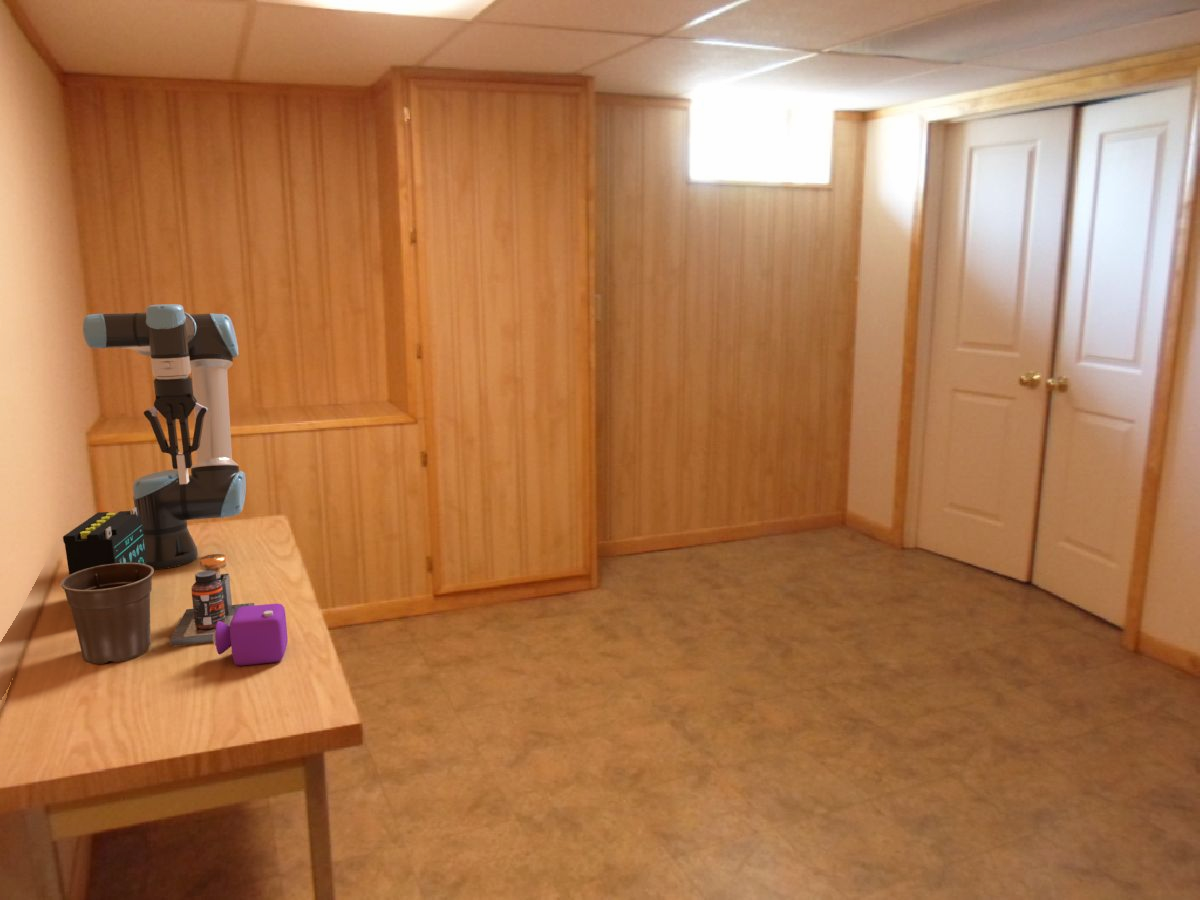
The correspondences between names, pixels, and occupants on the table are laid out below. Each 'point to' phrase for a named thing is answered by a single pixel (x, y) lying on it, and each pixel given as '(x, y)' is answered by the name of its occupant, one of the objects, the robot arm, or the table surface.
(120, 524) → the battery
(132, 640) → the plant pot
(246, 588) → the table surface
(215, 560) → the plunger
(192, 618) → the base
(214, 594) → the supplement bottle
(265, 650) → the toy camera
